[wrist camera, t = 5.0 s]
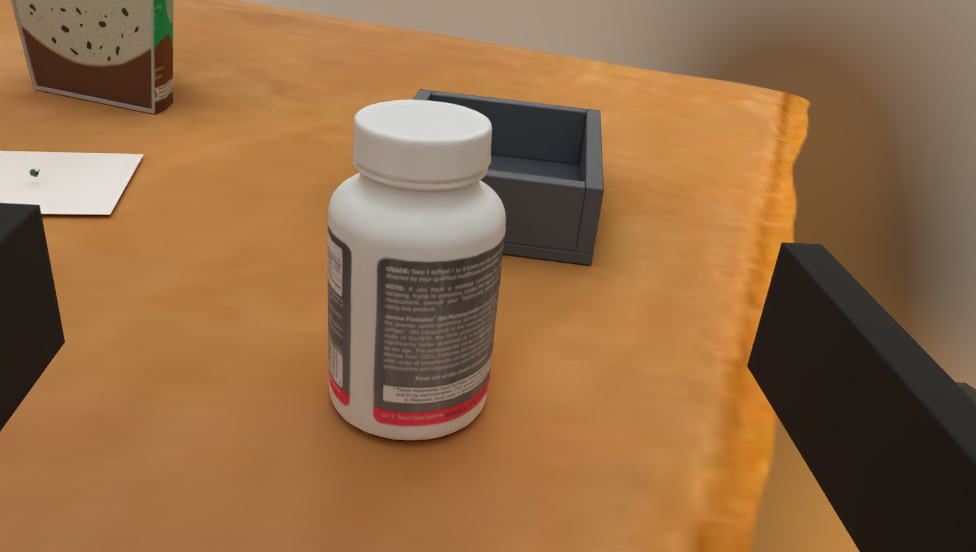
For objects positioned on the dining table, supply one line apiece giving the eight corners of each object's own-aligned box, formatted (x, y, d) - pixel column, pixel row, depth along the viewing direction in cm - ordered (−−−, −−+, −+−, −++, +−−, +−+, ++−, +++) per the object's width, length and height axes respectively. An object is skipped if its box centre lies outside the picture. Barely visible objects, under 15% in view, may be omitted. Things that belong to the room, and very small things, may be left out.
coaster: (143, 154, 45) (142, 140, 44) (110, 214, 38) (107, 198, 37) (-18, 150, 43) (-21, 136, 43) (-83, 212, 36) (-88, 196, 36)
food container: (232, 95, 56) (223, -62, 51) (175, 118, 51) (159, -54, 46) (83, 66, 59) (62, -85, 54) (15, 85, 54) (-15, -80, 49)
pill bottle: (511, 380, 29) (544, 115, 25) (442, 469, 25) (468, 165, 20) (380, 336, 31) (389, 81, 26) (295, 412, 27) (287, 121, 22)
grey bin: (367, 236, 38) (368, 160, 37) (416, 150, 50) (419, 88, 48) (591, 265, 38) (603, 189, 36) (590, 171, 49) (600, 110, 47)
